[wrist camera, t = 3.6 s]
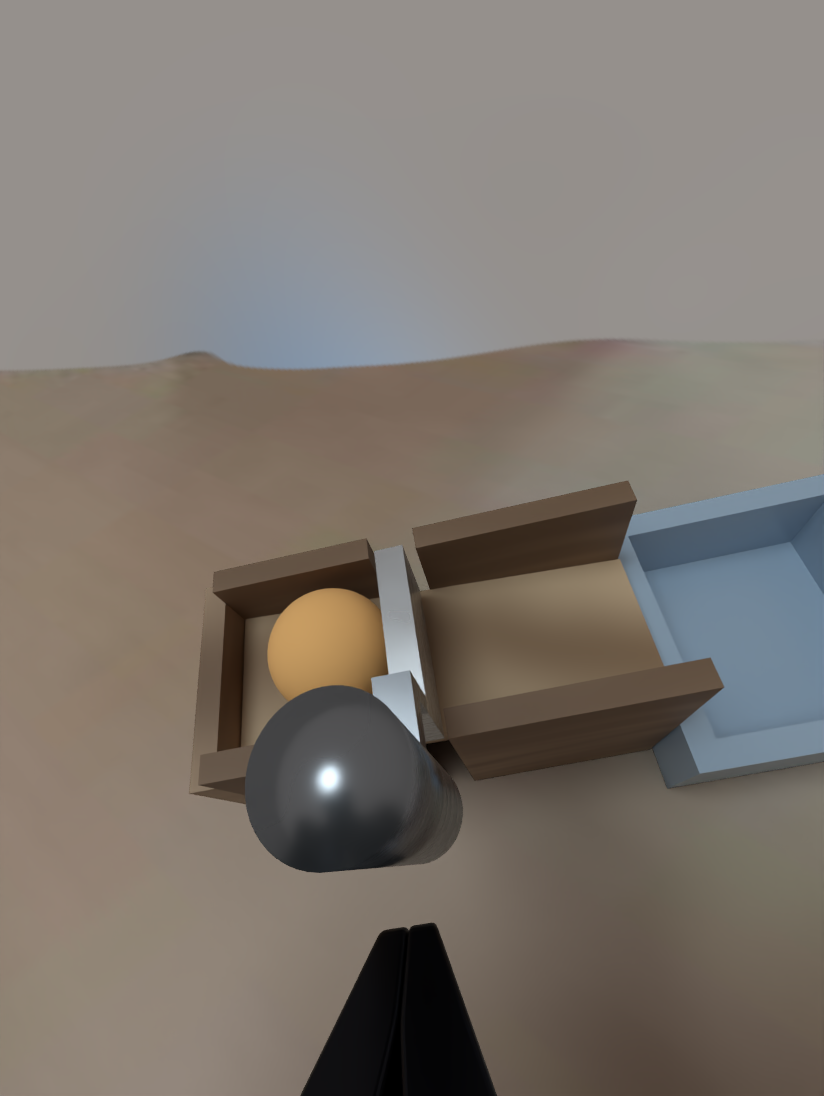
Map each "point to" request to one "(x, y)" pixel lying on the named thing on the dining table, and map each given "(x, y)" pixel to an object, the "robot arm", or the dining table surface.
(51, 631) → the dining table surface
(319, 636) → the ball
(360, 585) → the ramp frame
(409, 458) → the dining table surface
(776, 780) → the dining table surface
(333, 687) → the gate
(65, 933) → the dining table surface
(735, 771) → the blue square tray
